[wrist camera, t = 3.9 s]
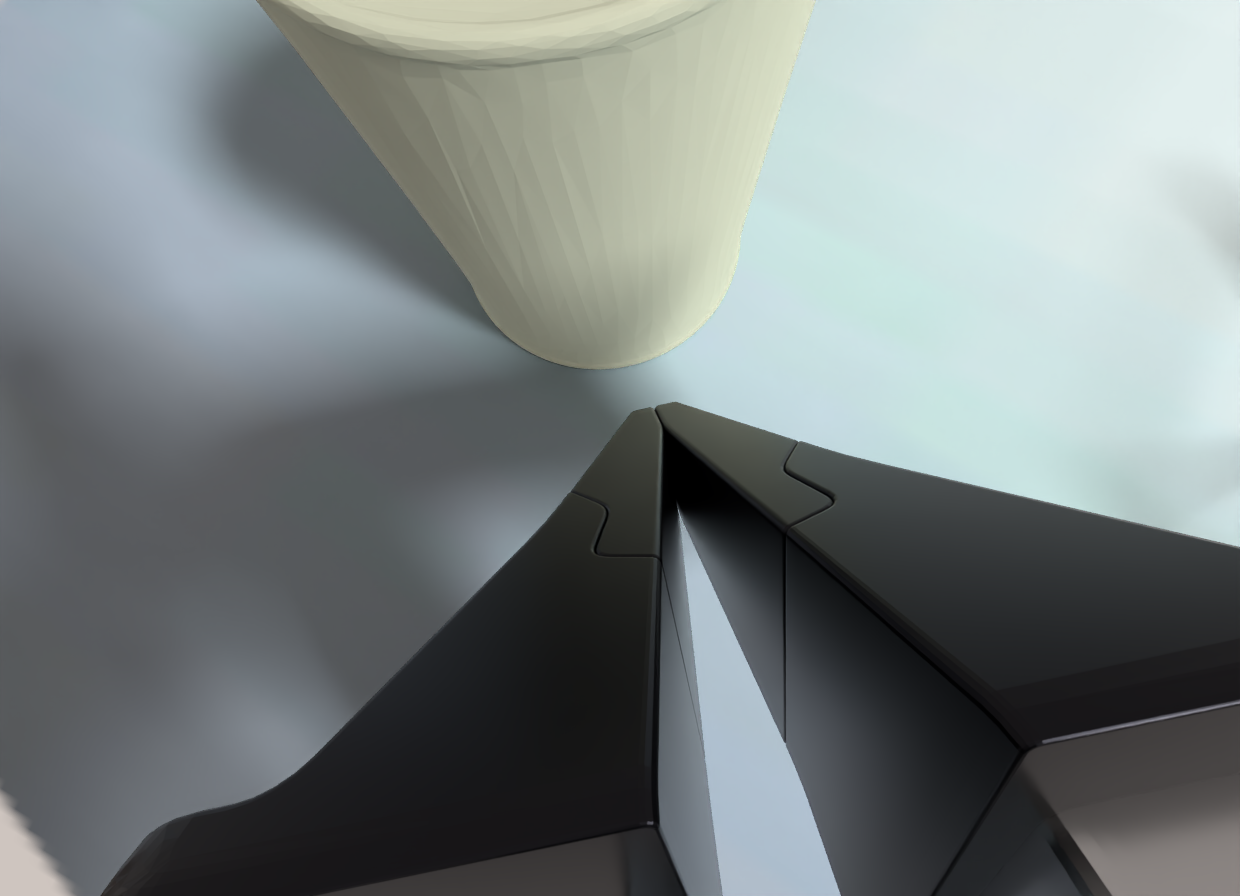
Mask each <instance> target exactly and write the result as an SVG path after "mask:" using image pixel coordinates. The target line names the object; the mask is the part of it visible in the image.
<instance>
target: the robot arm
mask: <svg viewBox="0 0 1240 896" xmlns="http://www.w3.org/2000/svg"><path fill="white" fill-rule="evenodd" d="M677 506H678V508H677ZM678 509H679V512H680V515H681V517H682V520H683V522H684V524H685V527H686V529H687V531H688V533H689V535H690V537H691V540H692V542H693V544H694V546H695V548H696V551H697V553H698V555H699V557H700V559H701V562H702V564H703V566H704V568H705V570H706V572H707V575H708V577H709V579H710V581H711V583H712V586H713V588H714V590H715V592H716V594H717V596H718V599H719V601H720V603H721V605H722V607H723V610H724V612H725V614H726V616H727V618H728V621H729V623H730V625H731V627H732V629H733V631H734V634H735V636H736V638H737V640H738V642H739V645H740V647H741V649H742V651H743V653H744V656H745V658H746V660H747V662H748V664H749V666H750V669H751V671H752V673H753V675H754V677H755V680H756V682H757V684H758V686H759V688H760V690H761V693H762V695H763V697H764V699H765V701H766V704H767V706H768V708H769V710H770V712H771V715H772V717H773V719H774V721H775V723H776V725H777V728H778V730H779V732H780V734H781V736H782V739H783V741H784V742H785V743H786V747H787V749H788V751H789V754H790V756H791V758H792V761H793V763H794V765H795V768H796V770H797V773H798V775H799V778H800V780H801V783H802V785H803V788H804V791H805V793H806V796H807V799H808V802H809V805H810V807H811V810H812V813H813V816H814V819H815V822H816V825H817V828H818V831H819V833H820V836H821V839H822V842H823V845H824V848H825V851H826V854H827V856H828V859H829V862H830V865H831V868H832V871H833V874H834V877H835V880H836V882H837V885H838V888H839V891H840V894H841V896H1240V547H1237V546H1233V545H1229V544H1224V543H1220V542H1216V541H1212V540H1207V539H1203V538H1199V537H1194V536H1190V535H1186V534H1181V533H1177V532H1173V531H1169V530H1164V529H1160V528H1156V527H1151V526H1147V525H1143V524H1139V523H1134V522H1130V521H1126V520H1121V519H1117V518H1113V517H1108V516H1104V515H1100V514H1096V513H1091V512H1087V511H1083V510H1078V509H1074V508H1070V507H1066V506H1061V505H1057V504H1053V503H1048V502H1044V501H1040V500H1035V499H1031V498H1027V497H1023V496H1018V495H1014V494H1010V493H1005V492H1001V491H997V490H992V489H988V488H984V487H980V486H975V485H971V484H967V483H962V482H958V481H954V480H950V479H945V478H941V477H937V476H932V475H928V474H924V473H919V472H915V471H911V470H907V469H902V468H898V467H894V466H889V465H885V464H881V463H877V462H873V461H869V460H865V459H861V458H857V457H853V456H849V455H845V454H841V453H838V452H835V451H831V450H828V449H824V448H821V447H818V446H815V445H812V444H808V443H805V442H802V441H800V442H798V441H796V440H793V439H790V438H787V437H784V436H781V435H778V434H775V433H771V432H768V431H765V430H762V429H759V428H756V427H753V426H750V425H747V424H743V423H740V422H737V421H734V420H731V419H728V418H725V417H722V416H718V415H715V414H712V413H709V412H706V411H703V410H700V409H697V408H693V407H690V406H687V405H684V404H681V403H678V402H672V403H667V404H663V405H658V406H656V407H655V410H654V409H653V408H651V407H649V408H645V409H641V410H636V411H633V412H632V413H631V414H630V415H629V416H628V418H627V419H626V420H625V422H624V423H623V424H622V425H621V427H620V428H619V429H618V431H617V432H616V433H615V435H614V436H613V437H612V438H611V440H610V441H609V442H608V444H607V445H606V446H605V448H604V449H603V450H602V452H601V453H600V454H599V455H598V457H597V458H596V459H595V461H594V462H593V463H592V465H591V466H590V467H589V468H588V470H587V471H586V472H585V474H584V475H583V476H582V478H581V479H580V480H579V482H578V483H577V484H576V485H575V487H574V488H573V489H572V491H571V493H569V494H568V495H567V496H566V497H565V498H564V500H563V501H562V502H561V504H560V505H559V506H558V507H557V509H556V510H555V511H554V512H553V513H552V515H551V516H550V517H549V518H548V519H547V521H546V522H545V523H544V524H543V525H542V526H541V527H540V528H539V529H538V530H537V531H536V533H535V534H534V535H533V536H532V537H531V538H530V539H529V540H528V541H527V542H526V543H525V544H524V545H523V546H522V547H521V548H520V549H519V550H518V551H517V552H516V553H515V554H514V555H513V556H512V557H511V558H510V559H509V560H508V561H507V562H506V563H505V564H504V565H503V566H502V567H501V568H500V569H499V570H498V571H497V572H496V573H495V574H494V575H493V576H492V577H491V578H490V579H489V580H488V581H487V582H486V583H485V584H484V585H483V587H482V588H481V589H480V590H479V591H478V592H477V593H476V594H475V595H474V596H473V597H472V598H471V599H470V600H469V601H468V602H467V603H466V604H465V605H464V606H463V607H462V608H461V609H460V610H459V611H458V612H457V613H456V614H455V615H454V616H453V617H452V618H451V619H450V620H449V621H448V622H447V623H446V624H445V625H444V626H443V627H442V628H441V629H440V630H439V631H438V632H437V633H436V634H435V635H434V636H433V637H432V638H431V639H430V640H429V641H428V642H427V643H426V644H425V645H424V646H423V647H422V648H421V649H420V650H419V651H418V652H417V653H416V654H415V655H414V656H413V657H412V658H411V659H410V660H409V661H408V662H407V663H406V664H405V665H404V666H403V667H402V668H401V669H400V670H399V671H398V672H397V673H396V674H395V675H394V676H393V677H392V678H391V679H390V680H389V681H388V682H387V683H386V684H385V685H384V686H383V687H382V688H381V689H380V690H379V691H378V692H377V693H376V694H375V695H374V696H373V697H372V698H371V699H370V700H369V701H368V702H367V703H366V704H365V705H364V706H363V707H362V708H361V709H360V710H359V711H358V712H357V713H356V714H355V715H354V717H353V718H352V719H351V720H350V721H349V722H348V723H347V724H346V725H345V726H344V727H343V728H342V729H341V730H340V731H339V732H338V733H337V734H336V735H335V736H334V737H333V738H332V739H331V740H330V741H329V742H328V743H327V744H326V745H325V746H324V747H323V748H322V749H321V750H320V751H319V752H318V753H317V754H316V755H315V756H314V757H313V758H312V759H310V760H309V761H308V762H307V763H306V764H305V765H304V766H302V767H301V768H300V769H299V770H298V771H297V772H296V773H294V774H293V775H291V776H290V777H288V778H287V779H286V780H284V781H283V782H281V783H280V784H278V785H277V786H275V787H273V788H272V789H270V790H268V791H266V792H264V793H262V794H260V795H258V796H256V797H254V798H251V799H248V800H245V801H242V802H239V803H236V804H232V805H227V806H222V807H217V808H213V809H208V810H203V811H200V812H196V813H193V814H189V815H186V816H182V817H179V818H176V819H174V820H172V821H169V822H167V823H165V824H163V825H162V826H160V827H158V828H157V829H155V830H154V831H153V832H151V833H150V834H149V835H148V836H147V837H146V838H145V839H144V840H143V841H142V843H141V844H140V845H139V846H138V847H137V849H136V850H135V851H134V852H133V853H132V855H131V856H130V857H129V858H128V859H127V861H126V862H125V863H124V864H123V865H122V867H121V868H120V869H119V871H118V872H117V874H116V875H115V876H114V878H113V879H112V880H111V882H110V883H109V884H108V886H107V887H106V889H105V890H104V891H103V893H102V894H101V896H723V895H722V888H721V880H720V873H719V865H718V858H717V850H716V843H715V835H714V828H713V820H712V812H711V804H710V796H709V788H708V779H707V770H706V763H705V752H704V743H703V733H702V724H701V715H700V705H699V696H698V687H697V678H696V668H695V659H694V650H693V641H692V631H691V622H690V613H689V603H688V594H687V585H686V576H685V566H684V557H683V548H682V538H681V529H680V521H679V514H678Z"/></svg>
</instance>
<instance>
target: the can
mask: <svg viewBox="0 0 1240 896" xmlns="http://www.w3.org/2000/svg"><path fill="white" fill-rule="evenodd" d="M256 1H257V2H258V3H259V5H260V6H261V7H262V8H263V10H264V11H265V12H266V13H267V15H268V16H269V17H270V18H271V20H272V21H273V22H274V23H275V25H276V26H277V27H278V28H279V30H280V31H281V32H282V33H283V35H284V36H285V37H286V38H287V40H288V41H289V42H290V43H291V45H292V46H293V47H294V48H295V50H296V51H297V52H298V54H299V55H300V56H301V58H302V59H303V60H304V62H305V63H306V64H307V66H308V67H309V68H310V69H311V71H312V72H313V73H314V75H315V76H316V77H317V79H318V80H319V81H320V83H321V84H322V85H323V87H324V88H325V89H326V91H327V92H328V93H329V95H330V96H331V97H332V98H333V100H334V101H335V102H336V104H337V105H338V106H339V108H340V109H341V110H342V112H343V113H344V114H345V116H346V117H347V118H348V120H349V121H350V122H351V123H352V125H353V126H354V127H355V129H356V130H357V131H358V133H359V134H360V135H361V137H362V138H363V139H364V141H365V142H366V143H367V145H368V146H369V147H370V148H371V150H372V151H373V152H374V154H375V155H376V156H377V158H378V159H379V160H380V162H381V163H382V164H383V166H384V167H385V168H386V170H387V171H388V172H389V173H390V175H391V176H392V177H393V179H394V180H395V181H396V183H397V184H398V185H399V187H400V188H401V189H402V191H403V192H404V193H405V195H406V196H407V197H408V198H409V200H410V201H411V203H412V204H413V205H414V207H415V208H416V209H417V211H418V212H419V213H420V215H421V216H422V217H423V219H424V220H425V221H426V223H427V224H428V225H429V227H430V228H431V230H432V231H433V232H434V234H435V235H436V236H437V238H438V239H439V240H440V242H441V243H442V244H443V246H444V247H445V248H446V250H447V251H448V253H449V254H450V255H451V257H452V258H453V259H454V261H455V262H456V263H457V265H458V266H459V268H460V269H461V270H462V272H463V273H464V275H465V276H466V278H467V279H468V280H469V282H470V283H471V285H472V287H473V290H474V292H475V294H476V296H477V299H478V300H479V302H480V304H481V305H482V307H483V309H484V311H485V312H486V313H487V315H488V316H489V317H490V319H491V320H492V321H493V323H494V324H495V325H496V326H497V327H498V328H499V329H500V330H501V331H502V332H503V333H504V334H505V335H506V336H507V337H509V338H510V339H511V340H512V341H513V342H515V343H516V344H517V345H519V346H520V347H522V348H524V349H525V350H527V351H528V352H530V353H532V354H534V355H536V356H538V357H541V358H543V359H545V360H548V361H551V362H554V363H557V364H560V365H565V366H569V367H574V368H581V369H614V368H622V367H627V366H632V365H636V364H639V363H642V362H645V361H648V360H651V359H654V358H656V357H658V356H660V355H663V354H665V353H667V352H668V351H670V350H672V349H673V348H675V347H677V346H679V345H680V344H681V343H683V342H684V341H685V340H687V339H688V338H689V337H691V336H692V335H693V334H694V333H695V332H696V331H697V330H698V329H700V328H701V327H702V326H703V325H704V324H705V323H706V321H707V320H708V319H709V318H710V317H711V316H712V314H713V313H714V312H715V310H716V309H717V307H718V306H719V305H720V303H721V301H722V300H723V298H724V296H725V294H726V292H727V290H728V288H729V286H730V284H731V281H732V278H733V276H734V273H735V270H736V266H737V262H738V257H739V250H740V239H741V233H742V230H743V226H744V222H745V219H746V216H747V213H748V209H749V206H750V203H751V200H752V196H753V193H754V190H755V187H756V184H757V181H758V177H759V174H760V171H761V168H762V165H763V162H764V158H765V155H766V152H767V149H768V146H769V143H770V140H771V136H772V133H773V130H774V127H775V124H776V121H777V117H778V114H779V111H780V108H781V105H782V102H783V98H784V95H785V92H786V89H787V86H788V83H789V80H790V77H791V74H792V71H793V68H794V65H795V62H796V59H797V56H798V53H799V50H800V47H801V44H802V41H803V38H804V35H805V32H806V29H807V25H808V22H809V19H810V16H811V13H812V10H813V7H814V4H815V1H816V0H256Z"/></svg>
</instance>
